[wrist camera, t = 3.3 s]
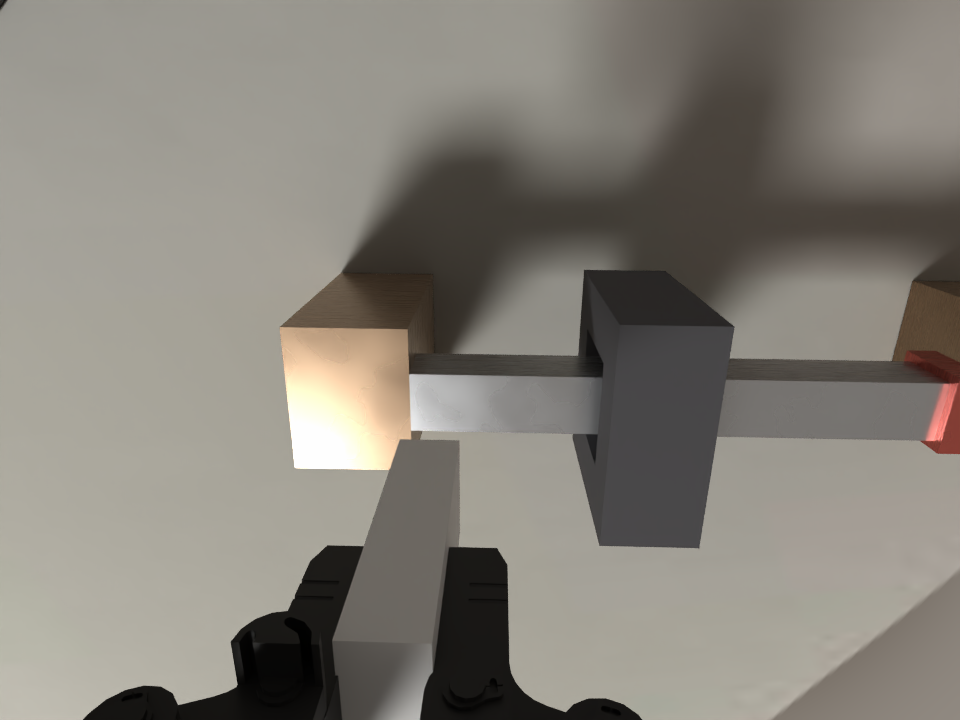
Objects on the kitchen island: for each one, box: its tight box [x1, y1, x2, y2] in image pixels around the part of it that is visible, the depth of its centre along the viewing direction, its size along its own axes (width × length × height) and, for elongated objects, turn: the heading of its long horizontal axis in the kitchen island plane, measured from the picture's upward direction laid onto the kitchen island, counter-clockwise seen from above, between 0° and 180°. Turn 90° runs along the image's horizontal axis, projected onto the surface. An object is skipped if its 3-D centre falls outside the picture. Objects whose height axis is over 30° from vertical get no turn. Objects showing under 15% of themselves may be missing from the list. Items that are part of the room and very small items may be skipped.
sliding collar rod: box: [280, 273, 960, 470], centre depth 23 cm, size 5×28×8 cm, turn 90°
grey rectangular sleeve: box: [573, 270, 734, 548], centre depth 21 cm, size 7×3×7 cm, turn 179°
